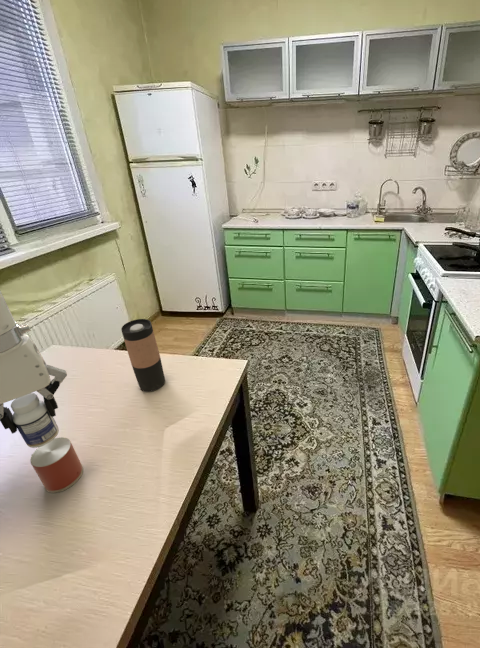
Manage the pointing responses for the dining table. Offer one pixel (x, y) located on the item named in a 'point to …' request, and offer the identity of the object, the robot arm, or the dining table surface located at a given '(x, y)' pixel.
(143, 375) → the travel mug
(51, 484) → the tin can
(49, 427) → the pill bottle
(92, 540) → the dining table surface
